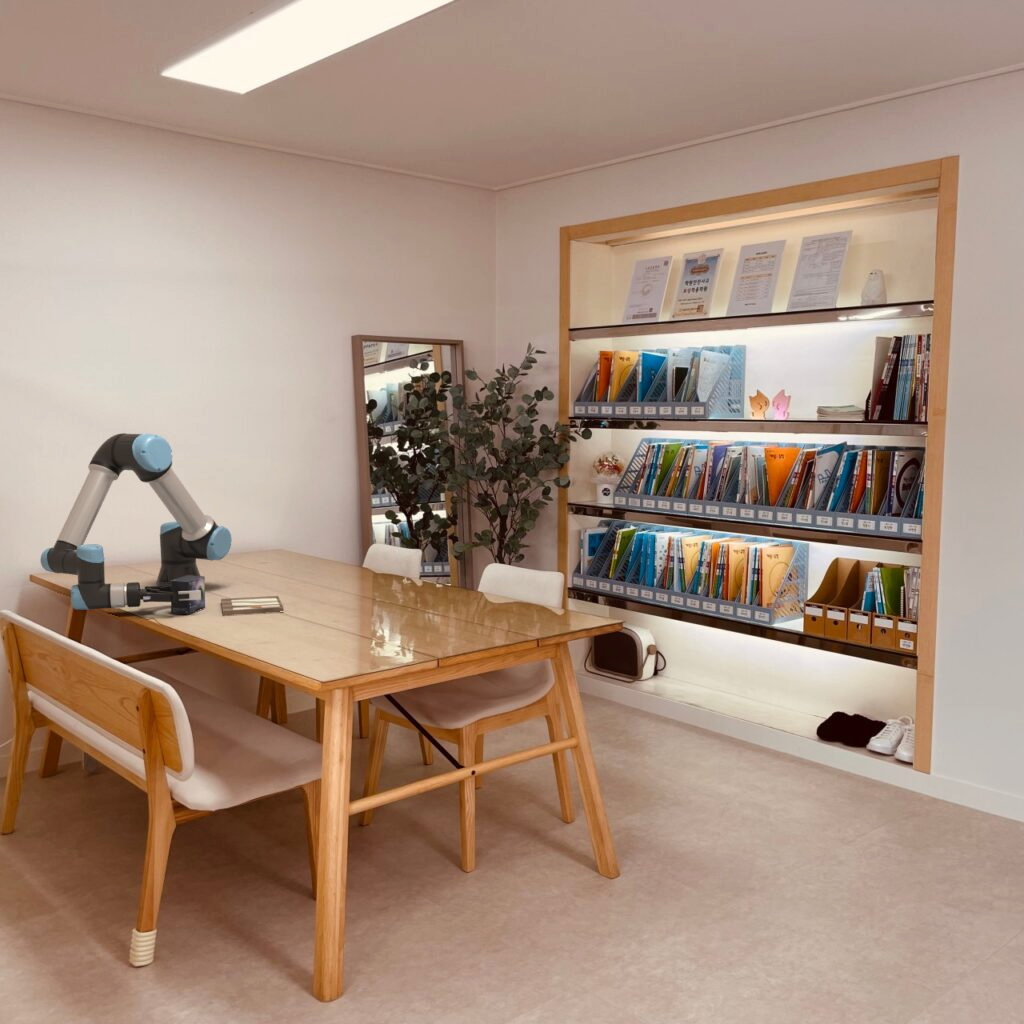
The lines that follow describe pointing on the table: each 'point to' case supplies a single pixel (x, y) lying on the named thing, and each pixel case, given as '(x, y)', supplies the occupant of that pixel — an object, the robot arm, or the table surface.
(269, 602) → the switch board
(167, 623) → the table surface
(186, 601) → the small box
